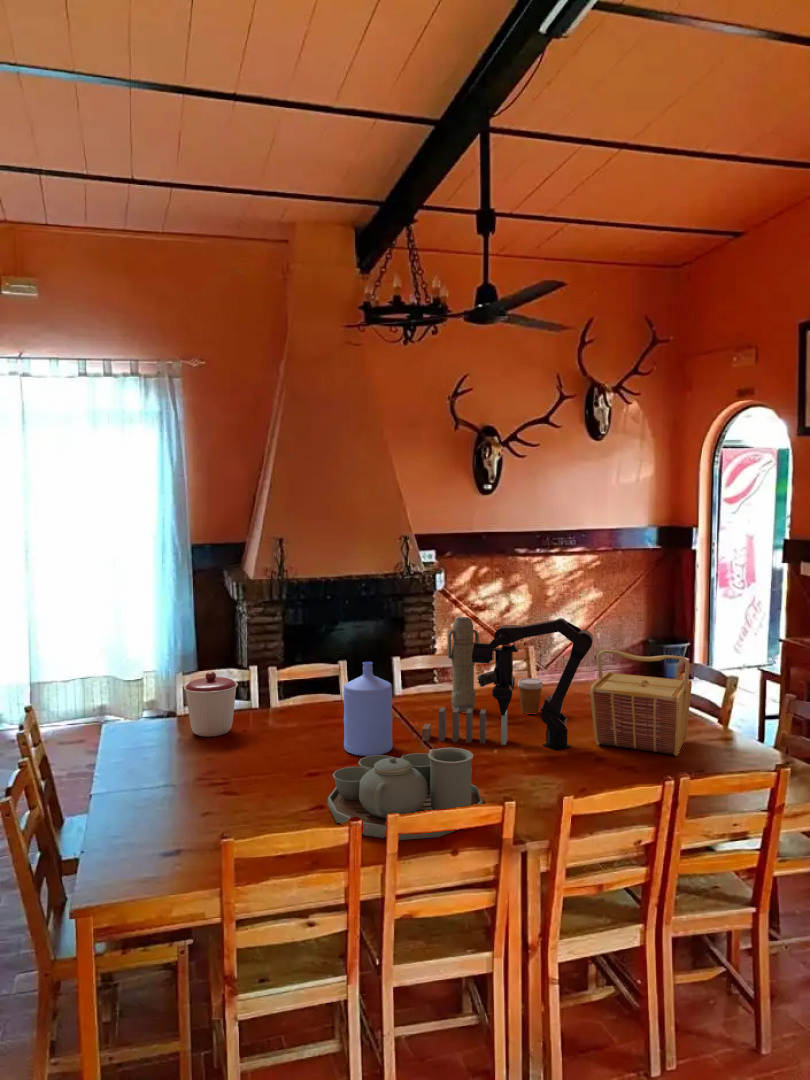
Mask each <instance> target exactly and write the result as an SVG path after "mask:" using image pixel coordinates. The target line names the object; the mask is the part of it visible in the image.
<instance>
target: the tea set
mask: <svg viewBox="0 0 810 1080" xmlns="http://www.w3.org/2000/svg"><path fill="white" fill-rule="evenodd" d="M473 758H474V753H472V752H471V751H470V750H468V749H464V748H458V747H440V748H436V749H435V748H432V749H429V752H428V753H426V752H425V753H424V752H423V753H419V752H417V753H416V752H415V753H408V754H402V756H401V757H394V756H392V755H391V756H389V755H384V754H381V755H374V756H364V757H362V758H360V759H359V761H358V762H357V763H358V766H347V767H342V768H340V769H337V770H335V771H334V772H333V774H332V777H333V779H334V783H335V788H334V789H333V791H332V792H331V793H330V794H329V796H328V797H327V806H328V808H329V810H330V812H331V815H332V816H333V819H334V820H335V822H336V824H337V823H346V822H347V821H348V820H349V819H350V818H351V817H358V818H360V819H362V820H363V835H362V836H366V837H372V836H373V837H374V838H379V839H380V838H381V839H385V838H384V837H385V830H386V825H385V822H386V816H387V814H388V813H399V814H407V813H414V812H418V811H424V810H435V809H447V808H455V807H463V806H469V805H473V804H483V805H484V803H483V802H484V801H483V798H482V795H481V794H480V791H479V788H478V786H476V785H474V784H472V773H473V768H472V760H473ZM454 832H455V831H443V832H433V833H422V834H401V835H400V836H399V840H398V841H405V840H420V839H428V838H429V839H433V838H440V837H442V836H445V835H449V834H451V833H454Z"/></svg>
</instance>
